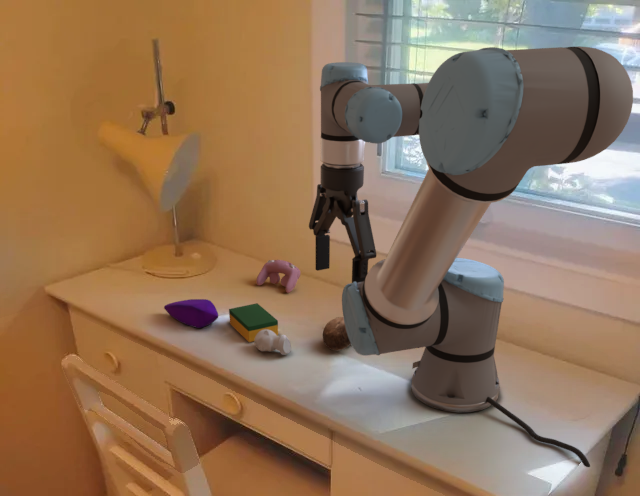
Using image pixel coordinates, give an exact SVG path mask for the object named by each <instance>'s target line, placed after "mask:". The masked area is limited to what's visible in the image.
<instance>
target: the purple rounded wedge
mask: <svg viewBox="0 0 640 496" xmlns="http://www.w3.org/2000/svg"><path fill="white" fill-rule="evenodd" d="M163 309H164V310H165V311H166V312H167V313H168V314H169V315H170V317H172V318H174V319H175V320H176V321H178V322H180V323H182V324H184V325H186V326H189V327H193V328H197V329H201V328H205V327H208V326H209V325H211V324H212V323H214V322H215V321H217V320H218V319H219V313H218V311H217V308H216V306H215V305H214V303H213V302H212V301H211V300H209V299H204V298H201V299H200V298H198V299H197V298H194V299H193V298H192V299H191V298H190V299H184V300H179V301H174V302H171V303H167V304H165V305H164V306H163Z"/></svg>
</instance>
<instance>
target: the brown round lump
mask: <svg viewBox="0 0 640 496" xmlns="http://www.w3.org/2000/svg"><path fill="white" fill-rule="evenodd" d="M322 341H323V343H324V345H325V346H326V347H327V348H328V349H330V350H332V351H335V352H336V351H342V350H344V349H346V348H349V346H350V345H351V342H350V340H349V337H348V334H347V331H346V327H345V323H344V317H343V316H342V317H341V316H340V317H335V318H332V319H331V320H329V321H328V322H326V324H325V325H324V327H323V331H322Z"/></svg>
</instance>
